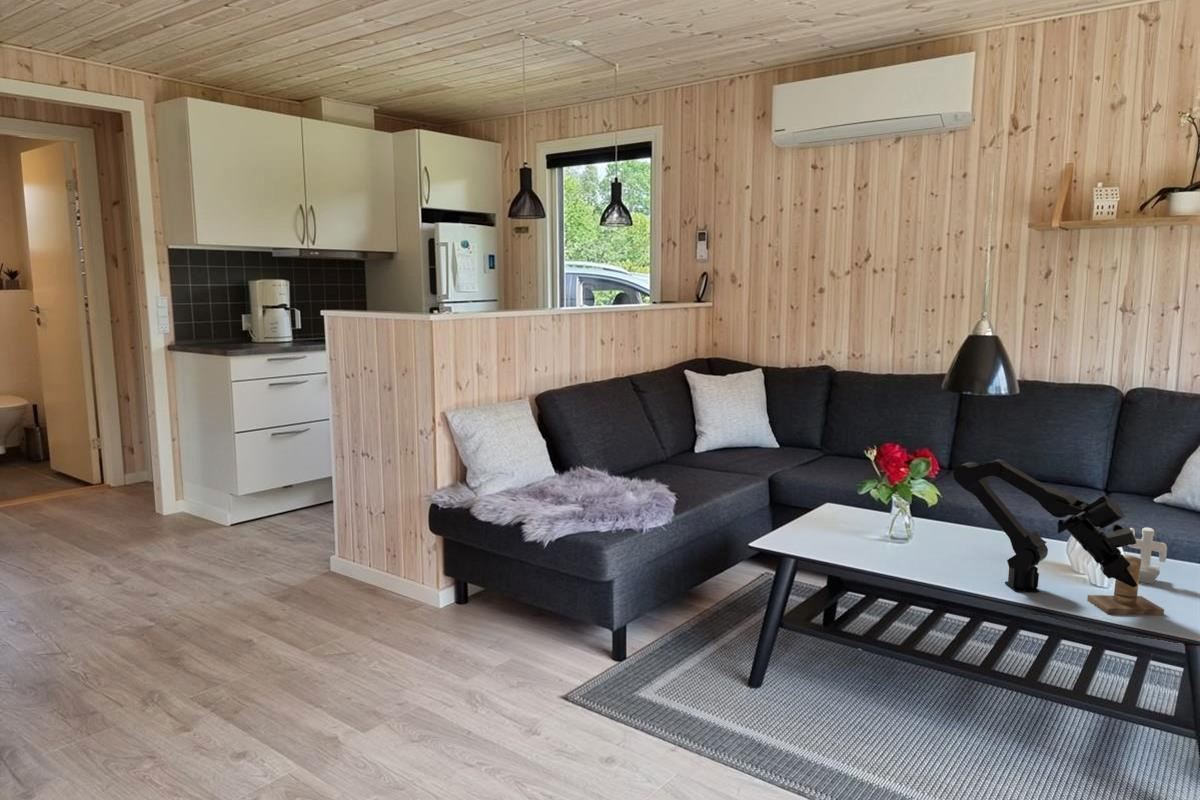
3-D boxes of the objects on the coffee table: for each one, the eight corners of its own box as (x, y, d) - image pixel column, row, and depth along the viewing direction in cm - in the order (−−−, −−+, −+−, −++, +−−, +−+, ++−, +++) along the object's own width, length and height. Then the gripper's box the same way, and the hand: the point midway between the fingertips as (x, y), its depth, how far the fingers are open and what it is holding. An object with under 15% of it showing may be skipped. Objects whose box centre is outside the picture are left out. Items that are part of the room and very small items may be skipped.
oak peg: (1120, 610, 208) (1125, 561, 207) (1108, 602, 213) (1113, 554, 212) (1140, 610, 208) (1145, 561, 206) (1127, 603, 213) (1133, 555, 211)
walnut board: (1107, 614, 206) (1108, 608, 206) (1087, 600, 215) (1087, 595, 215) (1163, 615, 206) (1164, 609, 206) (1140, 601, 215) (1141, 596, 215)
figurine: (1163, 587, 226) (1168, 534, 224) (1122, 580, 231) (1127, 528, 229) (1163, 579, 231) (1169, 528, 229) (1124, 572, 237) (1129, 522, 235)
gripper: (1124, 527, 200) (1172, 576, 198) (1108, 508, 218) (1152, 553, 215) (1084, 553, 204) (1131, 602, 202) (1071, 533, 221) (1114, 577, 219)
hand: (1133, 582), depth 209 cm, fingers closed on oak peg, 5 cm apart
